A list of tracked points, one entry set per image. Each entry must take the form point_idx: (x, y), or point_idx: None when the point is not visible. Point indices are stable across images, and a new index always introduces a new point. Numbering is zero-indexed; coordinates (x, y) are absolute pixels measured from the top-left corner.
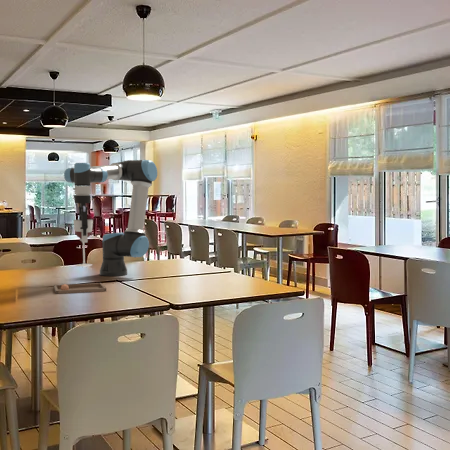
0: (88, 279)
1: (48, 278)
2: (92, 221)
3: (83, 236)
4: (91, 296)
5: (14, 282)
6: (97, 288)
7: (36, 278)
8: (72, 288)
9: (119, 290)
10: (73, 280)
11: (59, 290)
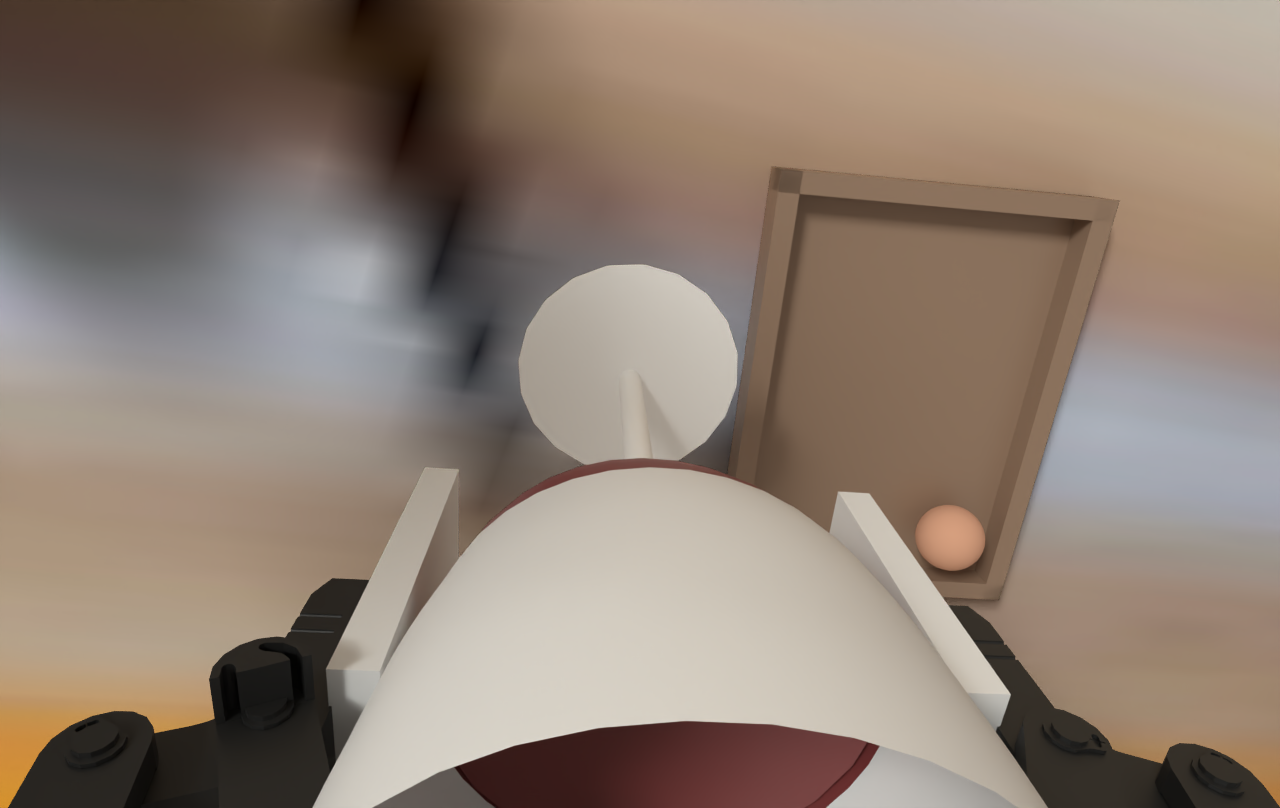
0: (162, 181)
1: (19, 536)
2: (867, 684)
3: None
4: (1167, 350)
5: None
6: (1086, 283)
7: (5, 626)
8: (799, 444)
9: (1025, 33)
10: (206, 343)
11: (1003, 577)
